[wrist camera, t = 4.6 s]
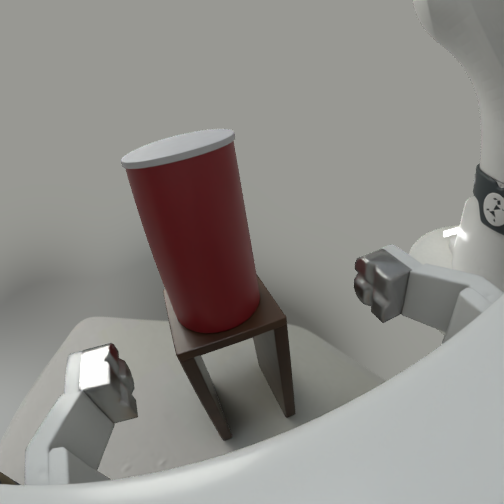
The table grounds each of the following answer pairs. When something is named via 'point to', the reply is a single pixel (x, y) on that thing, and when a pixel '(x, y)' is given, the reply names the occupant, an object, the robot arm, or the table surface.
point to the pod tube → (197, 227)
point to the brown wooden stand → (257, 326)
